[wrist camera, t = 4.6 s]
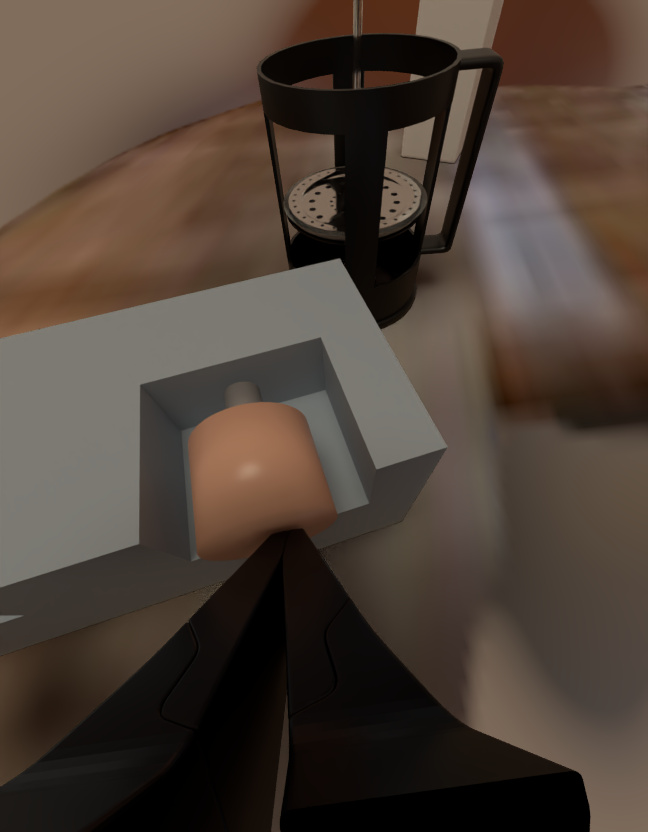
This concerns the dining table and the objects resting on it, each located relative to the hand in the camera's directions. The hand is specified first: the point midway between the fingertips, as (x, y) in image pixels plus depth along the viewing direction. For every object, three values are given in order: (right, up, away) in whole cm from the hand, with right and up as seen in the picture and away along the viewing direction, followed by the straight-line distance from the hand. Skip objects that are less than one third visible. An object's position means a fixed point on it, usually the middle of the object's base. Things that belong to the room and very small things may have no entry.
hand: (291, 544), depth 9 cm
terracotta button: (-1, +1, +2) cm, 3 cm away
